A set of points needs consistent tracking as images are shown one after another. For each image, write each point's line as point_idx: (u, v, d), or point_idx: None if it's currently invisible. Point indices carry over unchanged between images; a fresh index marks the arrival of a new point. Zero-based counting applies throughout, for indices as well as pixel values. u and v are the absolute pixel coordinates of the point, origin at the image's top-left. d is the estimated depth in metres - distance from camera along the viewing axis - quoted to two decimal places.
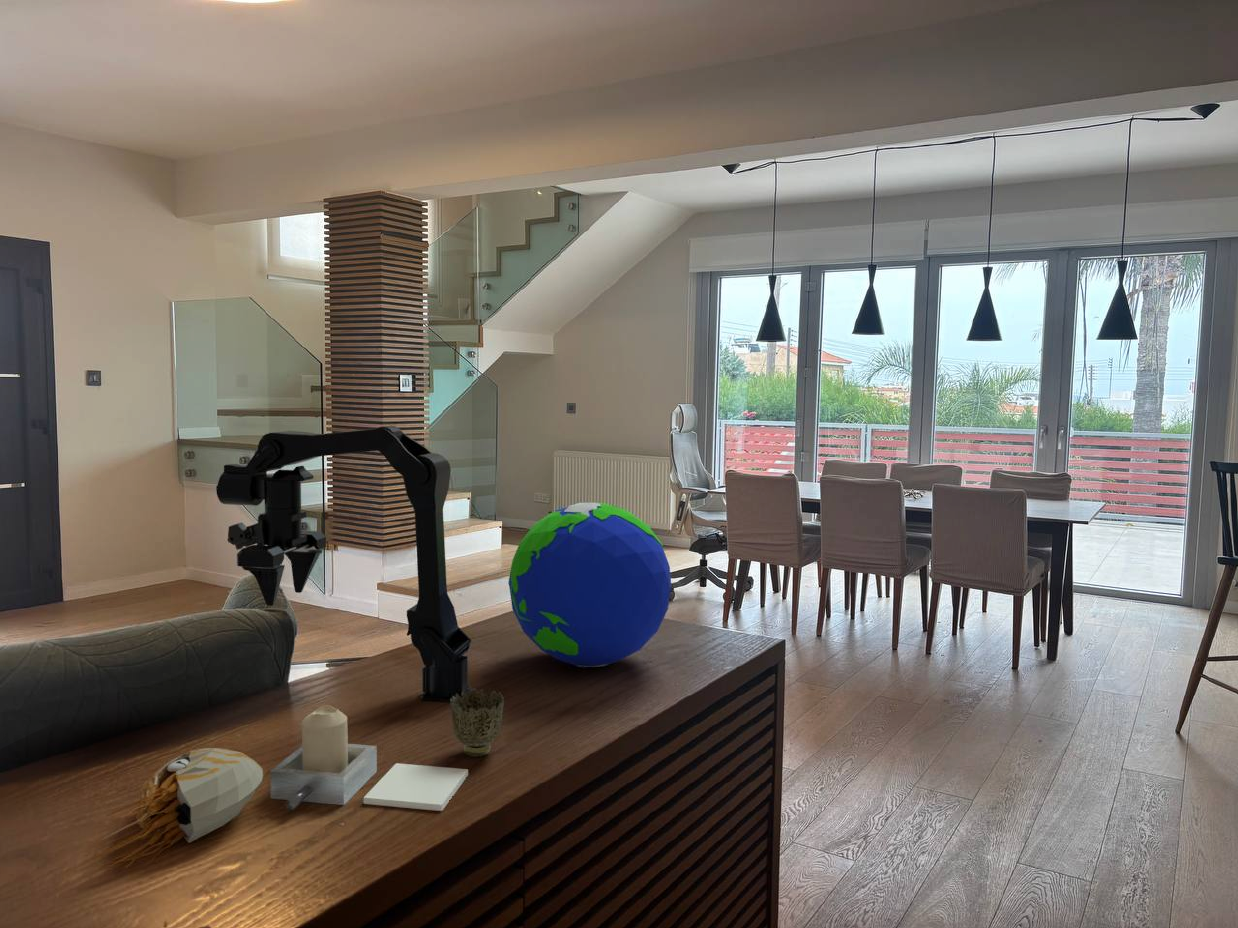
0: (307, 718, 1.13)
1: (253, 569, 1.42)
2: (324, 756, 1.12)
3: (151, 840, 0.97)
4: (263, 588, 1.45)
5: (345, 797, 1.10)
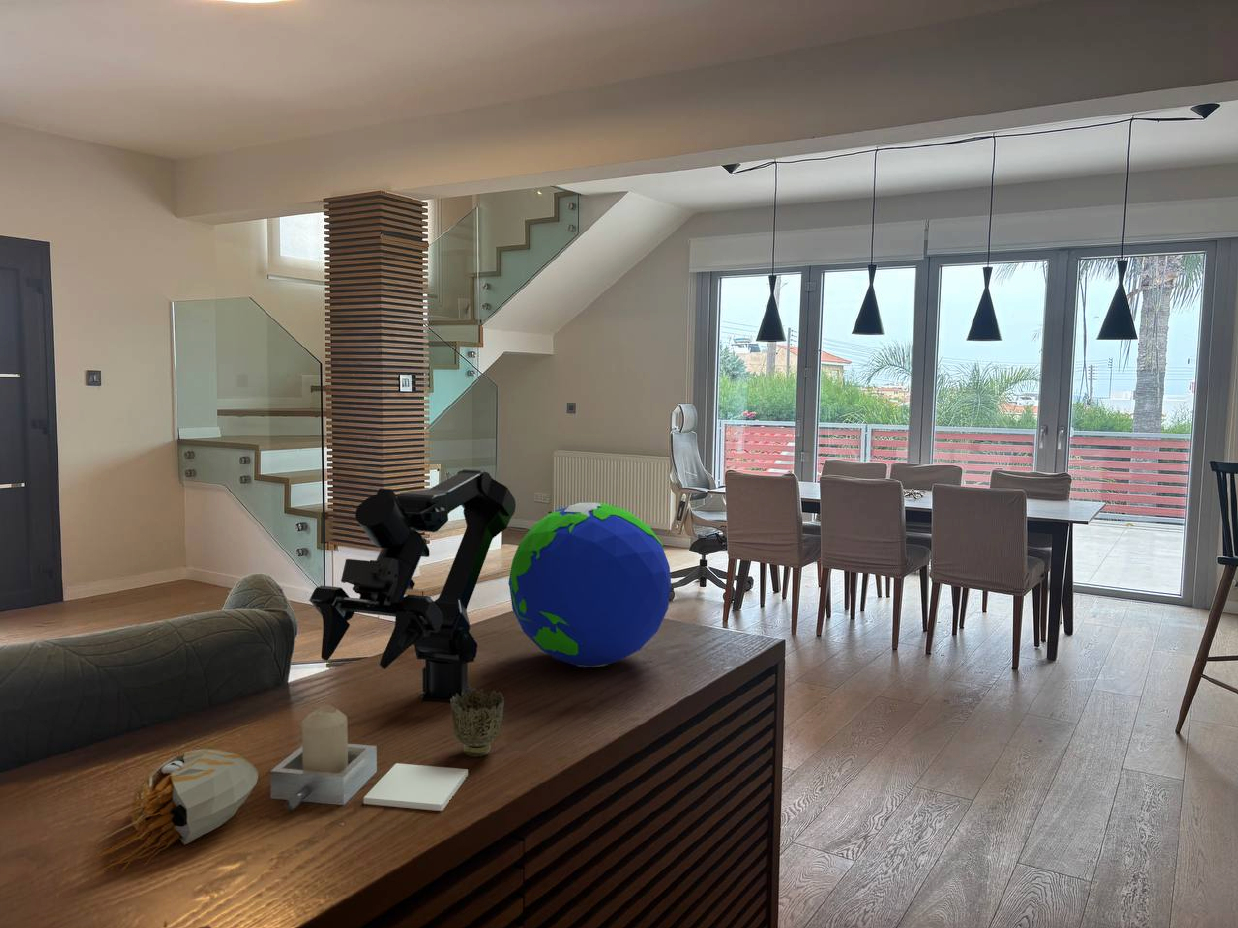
0: (307, 718, 1.13)
1: (420, 623, 1.23)
2: (324, 756, 1.12)
3: (147, 842, 0.96)
4: (396, 645, 1.21)
5: (345, 797, 1.10)
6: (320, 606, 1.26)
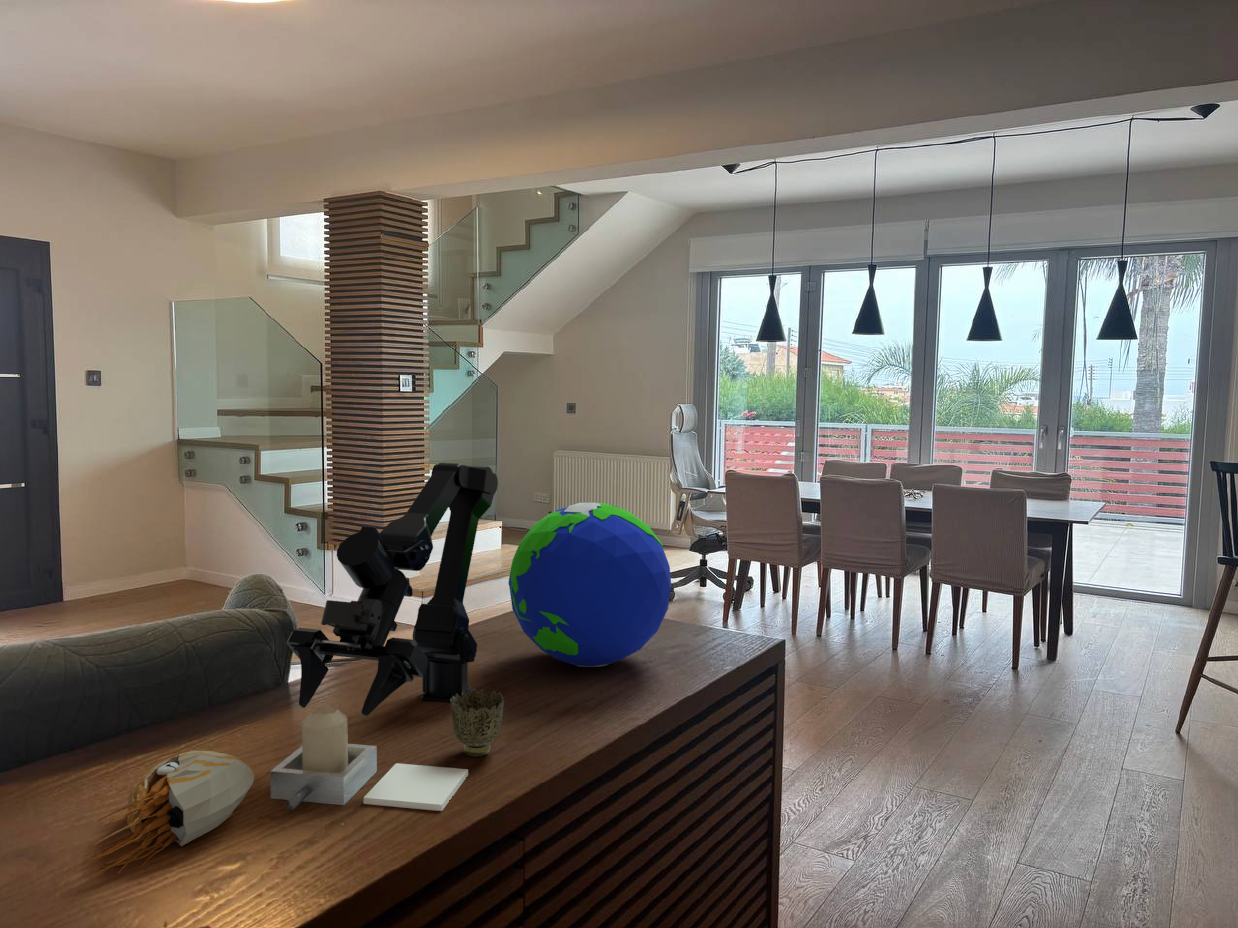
0: (307, 718, 1.13)
1: (404, 667, 1.17)
2: (324, 756, 1.12)
3: (143, 844, 0.96)
4: (378, 692, 1.16)
5: (345, 797, 1.10)
6: (298, 650, 1.20)
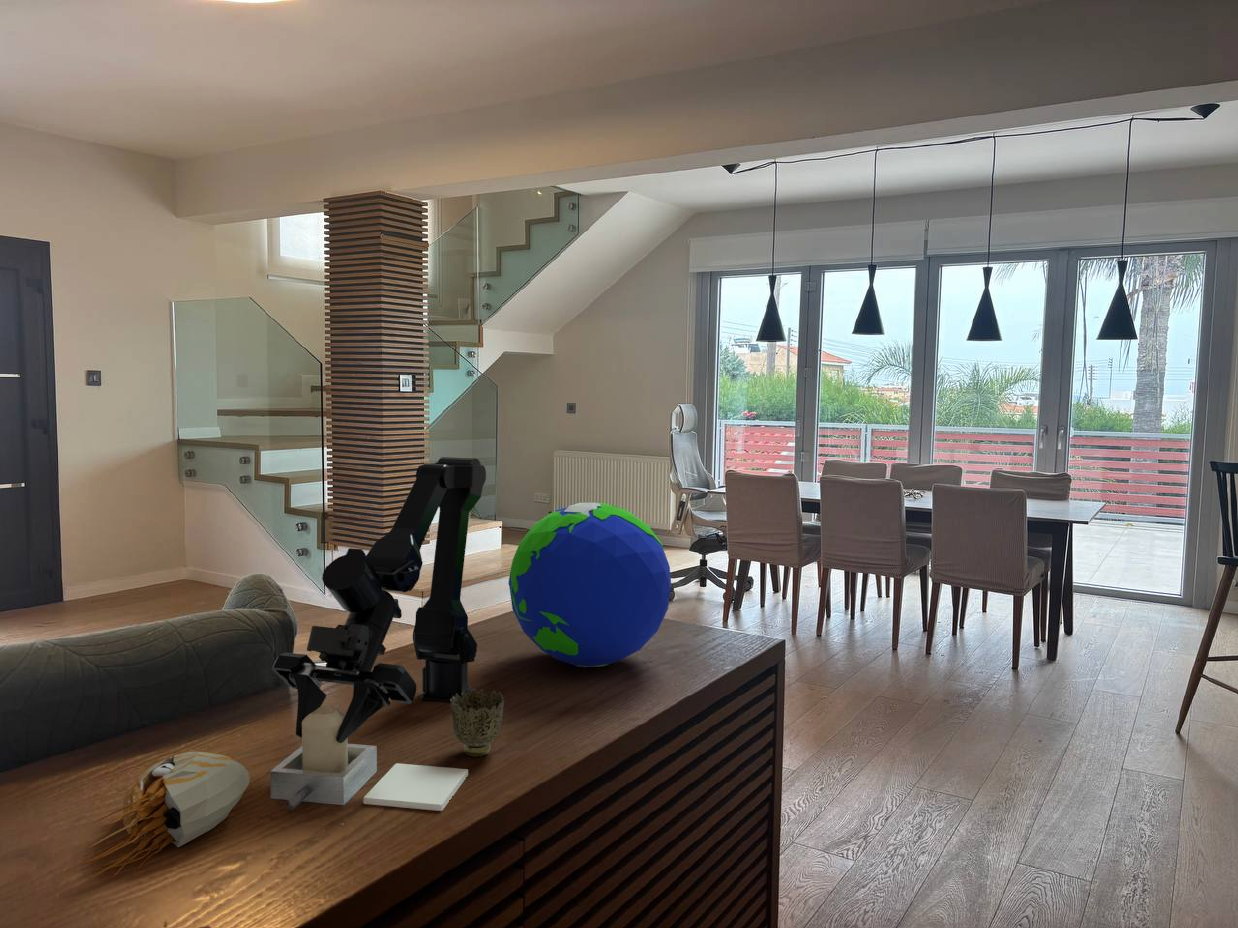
0: (307, 718, 1.13)
1: (380, 693, 1.15)
2: (324, 756, 1.12)
3: (140, 845, 0.96)
4: (354, 718, 1.13)
5: (345, 797, 1.10)
6: (294, 677, 1.16)
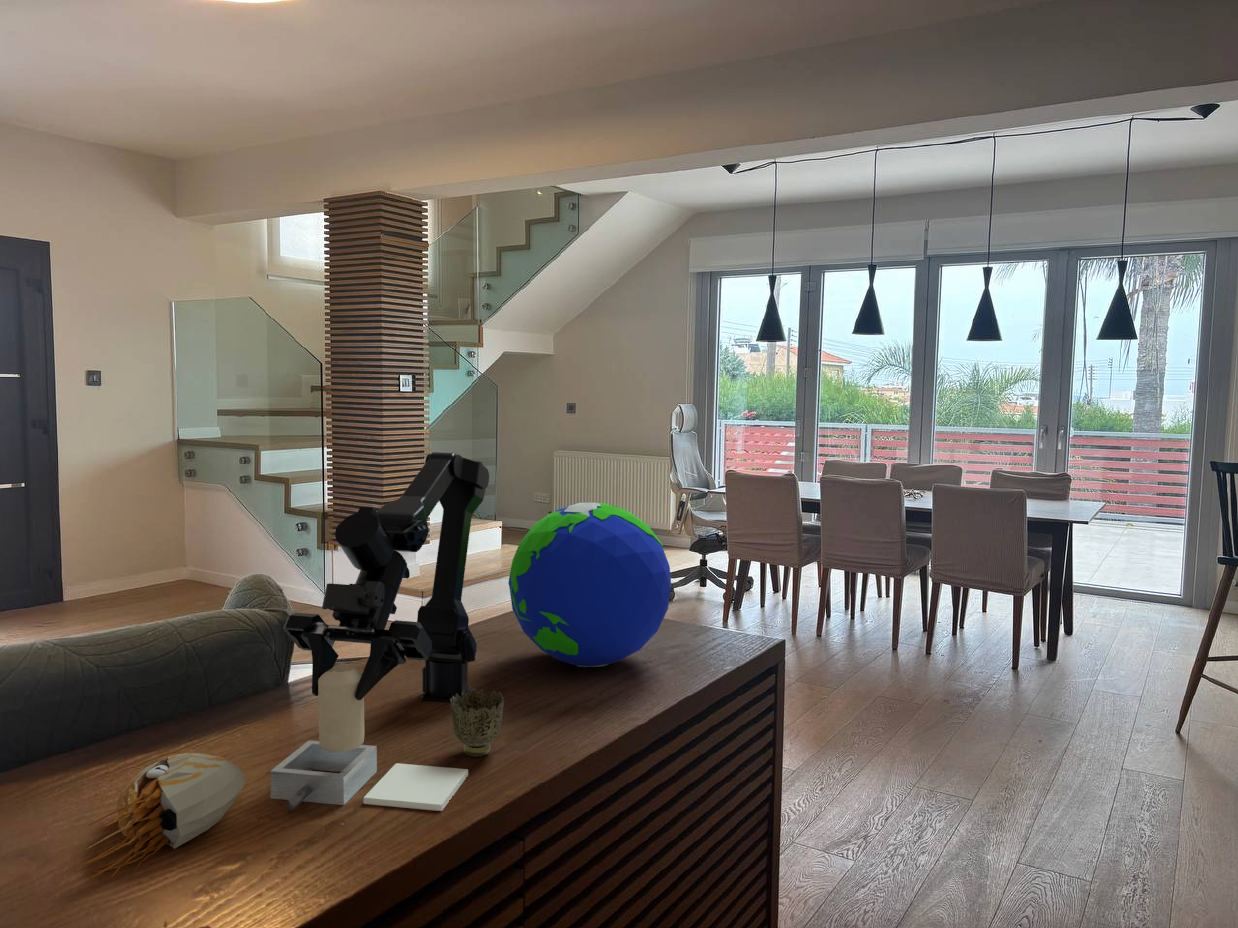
0: (324, 676, 1.12)
1: (397, 650, 1.14)
2: (343, 714, 1.11)
3: (136, 847, 0.95)
4: (372, 675, 1.13)
5: (345, 797, 1.10)
6: (308, 636, 1.15)
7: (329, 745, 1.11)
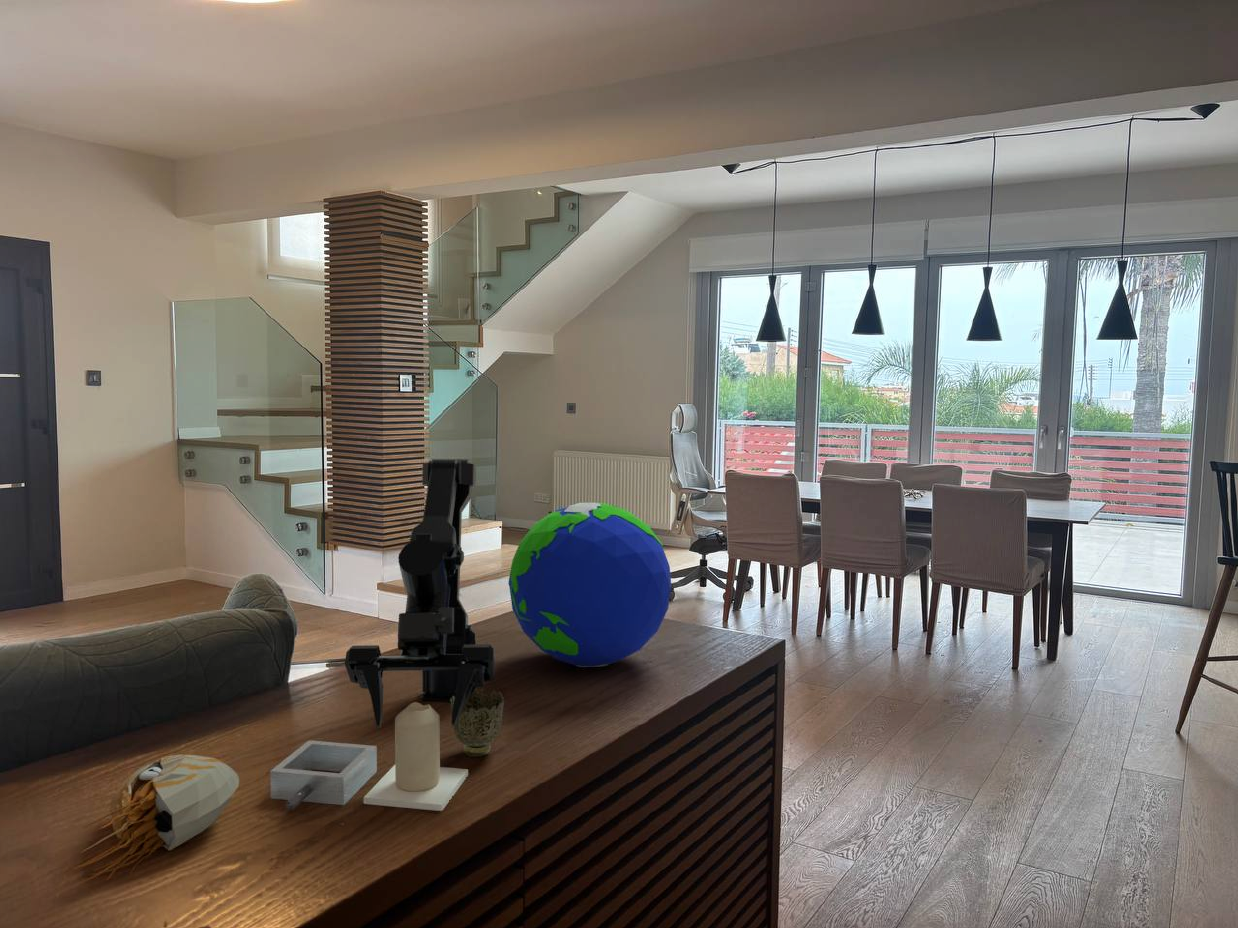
0: (403, 717, 1.12)
1: (483, 673, 1.16)
2: (427, 752, 1.12)
3: (131, 850, 0.95)
4: (463, 700, 1.14)
5: (345, 797, 1.10)
6: (362, 668, 1.13)
7: (414, 785, 1.11)
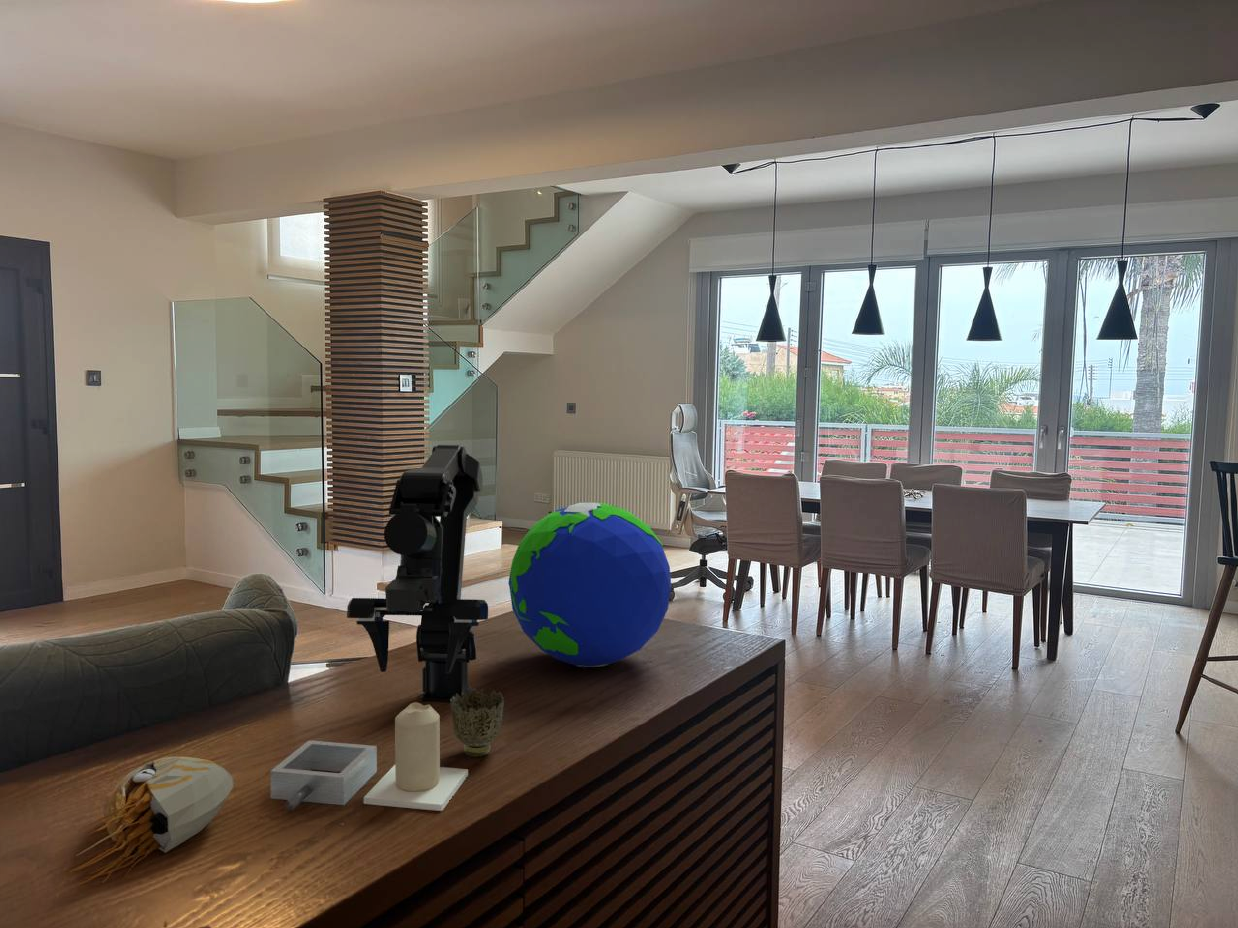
0: (404, 717, 1.12)
1: (473, 624, 1.24)
2: (427, 752, 1.12)
3: (127, 852, 0.94)
4: (456, 650, 1.24)
5: (345, 797, 1.10)
6: (362, 624, 1.23)
7: (414, 786, 1.11)
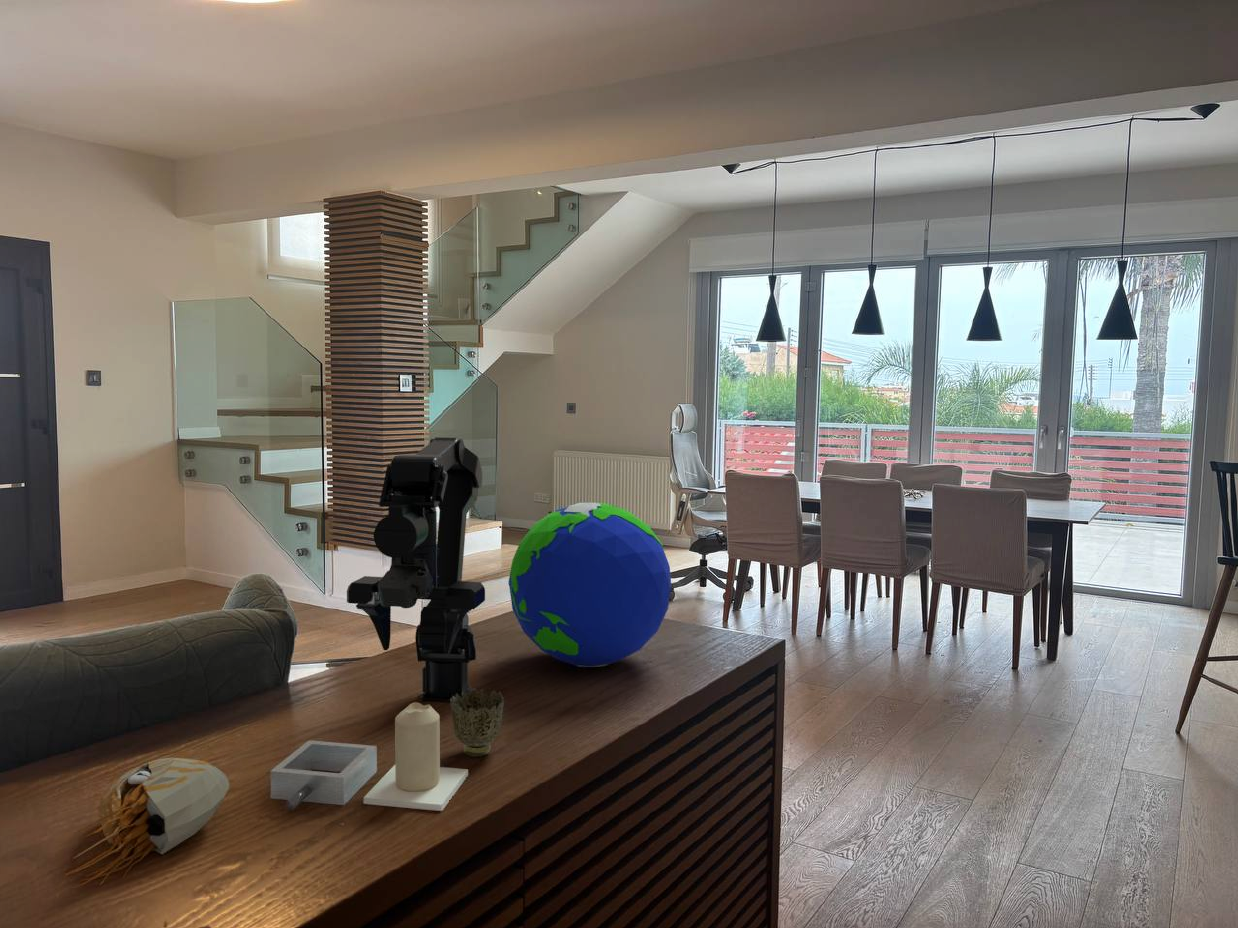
0: (404, 717, 1.12)
1: (469, 610, 1.26)
2: (427, 752, 1.12)
3: (123, 854, 0.94)
4: (453, 633, 1.27)
5: (345, 797, 1.10)
6: (362, 609, 1.26)
7: (414, 786, 1.11)
